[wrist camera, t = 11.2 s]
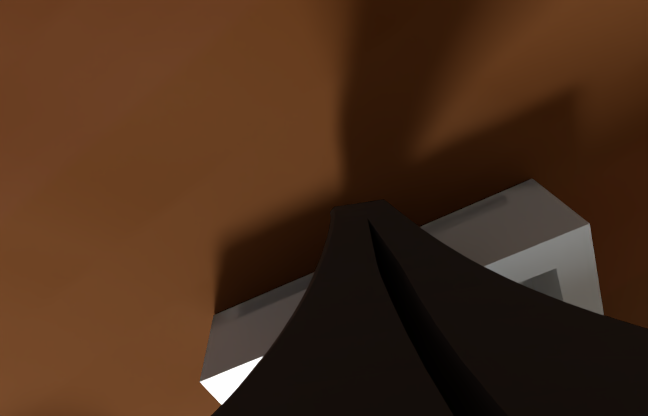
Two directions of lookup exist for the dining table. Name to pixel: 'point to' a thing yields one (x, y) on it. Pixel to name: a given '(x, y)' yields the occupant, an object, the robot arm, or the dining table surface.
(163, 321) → the dining table surface
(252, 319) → the tray
